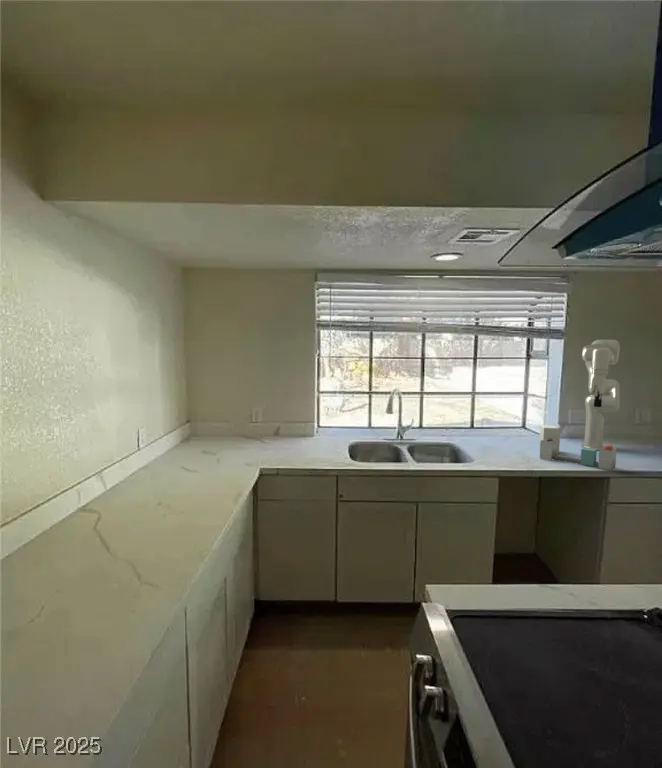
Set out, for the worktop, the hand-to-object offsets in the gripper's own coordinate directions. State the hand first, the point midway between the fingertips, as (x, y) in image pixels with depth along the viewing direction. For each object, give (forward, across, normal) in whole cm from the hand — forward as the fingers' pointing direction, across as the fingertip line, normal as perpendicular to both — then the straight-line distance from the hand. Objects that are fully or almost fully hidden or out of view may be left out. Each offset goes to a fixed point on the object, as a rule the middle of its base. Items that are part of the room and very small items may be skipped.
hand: (597, 406), depth 248 cm
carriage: (+29, +12, 0) cm, 31 cm away
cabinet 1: (+29, +12, -20) cm, 37 cm away
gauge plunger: (+22, +12, +8) cm, 27 cm away
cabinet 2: (+29, +12, +8) cm, 33 cm away
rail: (+29, +12, -6) cm, 32 cm away
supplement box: (+29, -2, -24) cm, 38 cm away
